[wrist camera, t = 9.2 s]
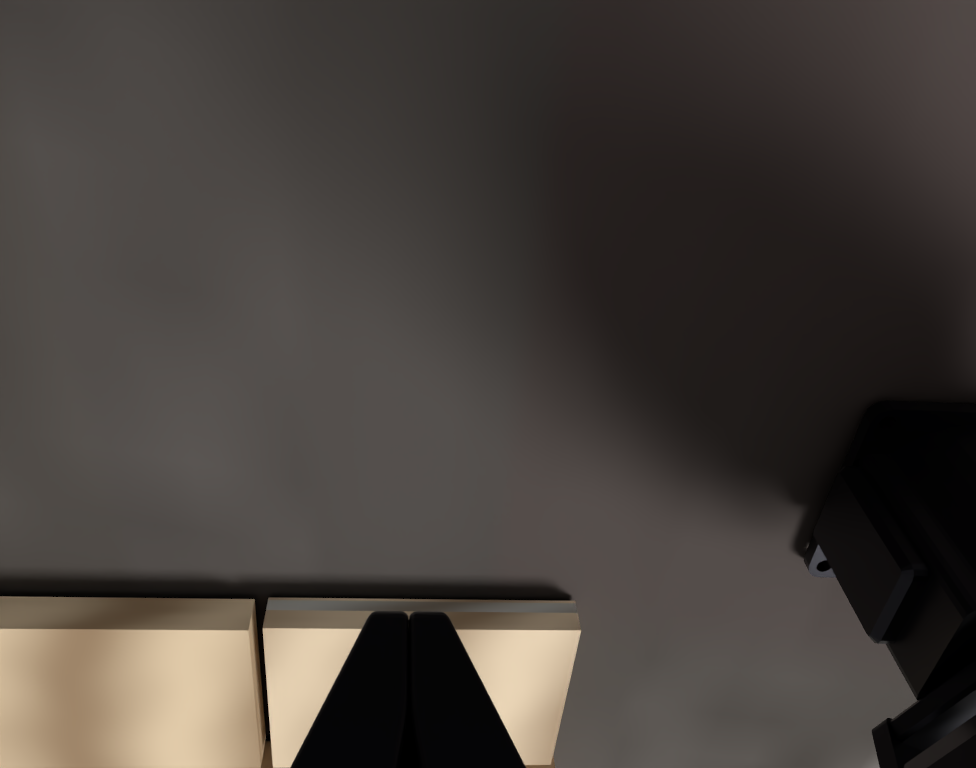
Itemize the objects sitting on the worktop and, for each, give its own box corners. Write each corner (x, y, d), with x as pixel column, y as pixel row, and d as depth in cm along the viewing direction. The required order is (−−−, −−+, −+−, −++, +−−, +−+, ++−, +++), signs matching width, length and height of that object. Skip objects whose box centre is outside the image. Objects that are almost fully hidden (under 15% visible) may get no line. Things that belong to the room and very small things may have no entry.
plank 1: (254, 599, 26) (248, 630, 25) (266, 736, 30) (260, 767, 29) (-81, 595, 25) (-101, 628, 24) (-24, 738, 29) (-39, 770, 28)
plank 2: (574, 600, 27) (581, 630, 26) (546, 734, 31) (550, 764, 30) (268, 597, 26) (262, 628, 25) (277, 736, 30) (272, 767, 29)
